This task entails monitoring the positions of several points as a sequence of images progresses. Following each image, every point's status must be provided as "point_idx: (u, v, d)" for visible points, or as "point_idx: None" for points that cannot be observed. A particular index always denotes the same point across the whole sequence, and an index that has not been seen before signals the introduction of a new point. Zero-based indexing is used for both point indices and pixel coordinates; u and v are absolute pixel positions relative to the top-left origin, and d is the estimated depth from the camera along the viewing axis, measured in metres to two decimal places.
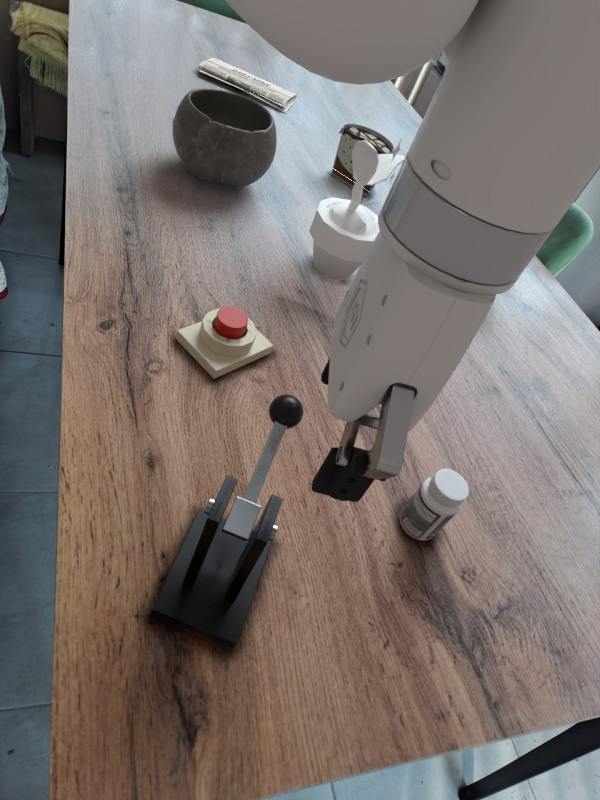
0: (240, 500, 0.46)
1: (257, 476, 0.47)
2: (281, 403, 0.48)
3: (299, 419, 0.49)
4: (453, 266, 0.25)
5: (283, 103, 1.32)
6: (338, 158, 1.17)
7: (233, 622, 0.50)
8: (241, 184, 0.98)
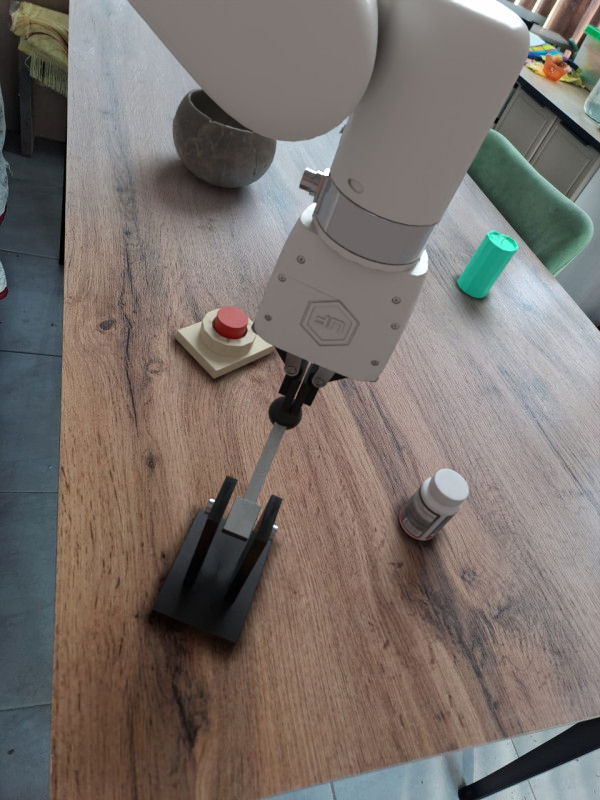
0: (240, 500, 0.46)
1: (257, 477, 0.47)
2: (281, 404, 0.49)
3: (298, 420, 0.49)
4: (424, 250, 0.36)
5: None
6: None
7: (233, 622, 0.50)
8: (241, 184, 0.98)
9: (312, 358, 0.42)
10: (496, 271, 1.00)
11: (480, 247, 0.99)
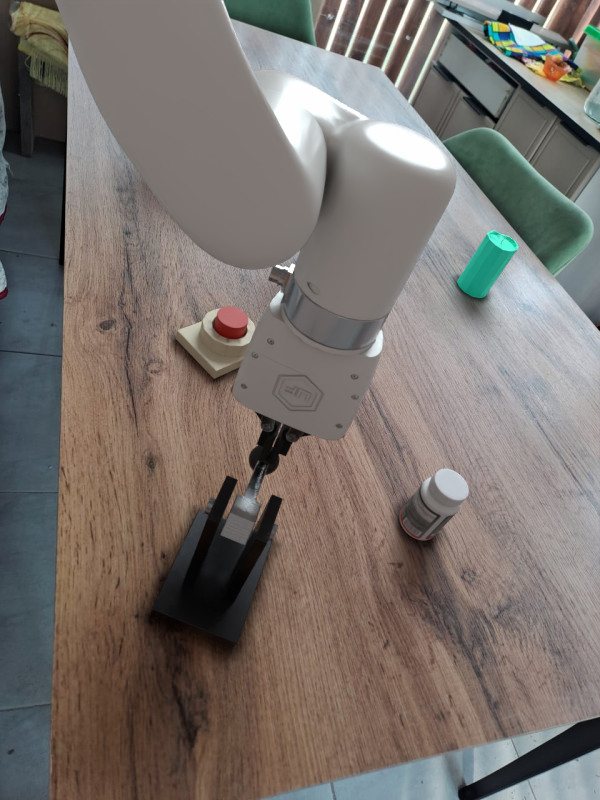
0: (241, 496, 0.47)
1: (251, 490, 0.49)
2: None
3: (277, 462, 0.55)
4: (378, 333, 0.41)
5: None
6: None
7: (233, 622, 0.50)
8: None
9: (284, 420, 0.47)
10: (496, 271, 1.00)
11: (480, 247, 0.99)
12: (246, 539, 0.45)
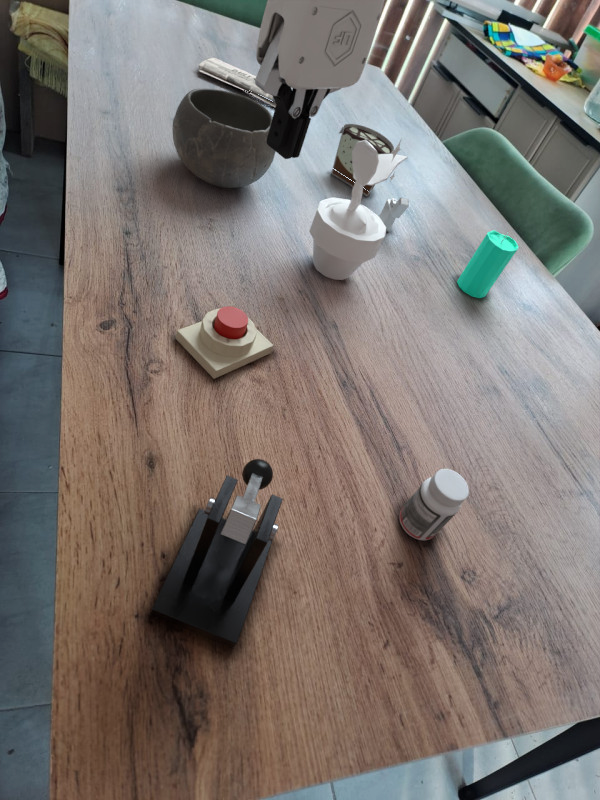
0: (241, 497, 0.47)
1: (248, 495, 0.50)
2: (256, 459, 0.56)
3: (271, 476, 0.55)
4: None
5: None
6: (338, 158, 1.17)
7: (233, 622, 0.50)
8: (241, 184, 0.98)
9: (327, 82, 0.50)
10: (496, 271, 1.00)
11: (480, 247, 0.99)
12: (247, 537, 0.45)
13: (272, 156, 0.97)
